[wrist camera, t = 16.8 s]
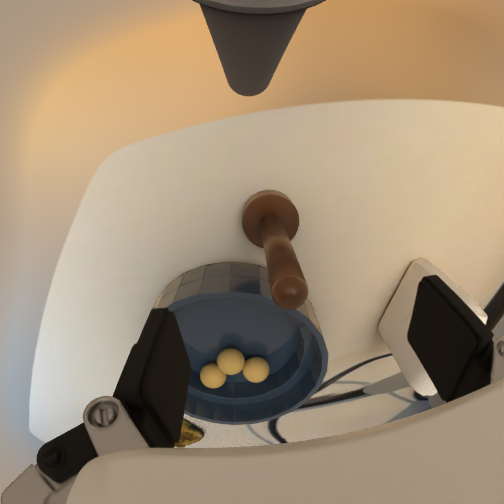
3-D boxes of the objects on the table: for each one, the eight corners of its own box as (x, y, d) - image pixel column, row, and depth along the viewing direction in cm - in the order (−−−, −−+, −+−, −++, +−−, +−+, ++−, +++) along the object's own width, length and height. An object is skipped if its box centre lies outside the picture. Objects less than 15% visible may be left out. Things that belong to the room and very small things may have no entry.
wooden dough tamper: (241, 190, 25) (236, 255, 12) (295, 189, 25) (347, 250, 12) (243, 242, 27) (242, 343, 14) (295, 240, 27) (336, 337, 14)
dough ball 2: (237, 364, 32) (246, 345, 32) (241, 382, 30) (250, 362, 29) (212, 360, 32) (220, 340, 31) (214, 377, 29) (223, 357, 28)
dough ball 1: (219, 354, 32) (211, 367, 29) (233, 374, 32) (227, 388, 29) (199, 363, 33) (191, 376, 30) (214, 382, 33) (206, 396, 30)
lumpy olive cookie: (197, 407, 38) (110, 404, 38) (193, 430, 34) (100, 423, 34) (210, 442, 41) (130, 438, 41) (208, 464, 36) (123, 457, 36)
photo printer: (412, 252, 28) (480, 315, 17) (437, 262, 29) (503, 321, 17) (370, 329, 32) (412, 407, 20) (397, 334, 32) (440, 406, 21)
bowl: (133, 269, 28) (111, 300, 23) (315, 249, 28) (331, 279, 22) (176, 390, 35) (169, 425, 30) (314, 379, 35) (322, 415, 29)
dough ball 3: (258, 391, 29) (234, 379, 30) (266, 379, 32) (243, 367, 33) (269, 371, 29) (244, 358, 30) (276, 359, 32) (253, 348, 32)
